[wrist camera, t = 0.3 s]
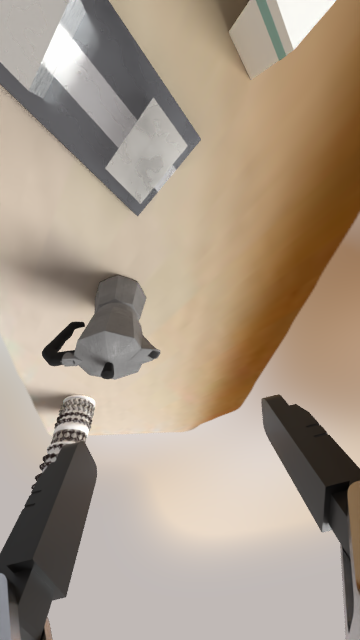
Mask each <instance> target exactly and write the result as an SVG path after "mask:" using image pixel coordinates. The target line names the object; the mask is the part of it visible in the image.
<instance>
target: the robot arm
mask: <svg viewBox="0 0 360 640" xmlns="http://www.w3.org/2000/svg"><path fill="white" fill-rule="evenodd" d="M262 414H263V425H264V429H265V432H266V434H267V436H268V438H269V440H270V442H271V444H272V446H273V447H274V449H275V451H276V453H277V454H278V456H279V458H280V459H281V461H282V463H283V465H284V467H285V468H286V470H287V472H288V474H289V476H290V477H291V479H292V481H293V483H294V484H295V486H296V487H297V490H298V491H299V493H300V495H301V497H302V498H303V500H304V502H305V504H306V505H307V507H308V509H309V510H310V512H311V514H312V516H313V517H314V519H315V521H316V523H317V524H318V526H319V528H320V530H321V532H325V531H330V530H333V532H334V533H335V535H336V537H337V538H338V540H339V542H340V543H341V546H340V548H341V564H342V581H343V598H344V614H345V633H346V640H360V468H359V467H358V466H357V465H356V464H355V463H354V462H353V461H352V460H351V458H350V457H349V456H348V455H347V454H346V453H345V452H344V451H343V450H342V449H341V447H340V446H339V445H338V444H337V443H336V442H335V441H334V440H333V438H331V436H330V435H328V434H327V432H326V431H325V430H324V428H323V427H321V425H319V423H318V422H317V421H316V420H315V419H314V418H313V416H311V414H310V413H309V412H308V411H306V410H304V409H303V408H301V407H300V406H298V405H297V404H295V405H290V406H289V405H288V404H287V403H286V401H285V400H284V399H283V398H282V396H280V395H274V396H270V397H266V398H263V399H262ZM96 477H97V468H96V464H95V462H94V460H93V458H92V456H91V454H90V452H89V450H88V448H87V446H86V444H85V442H83V441H80V442H76V443H72V444H68V445H64V446H63V447H62V448H61V450H60V452H59V454H58V456H57V458H56V460H55V462H51V463H50V464H49V465H48V467H47V468H46V469H45V470H44V472H43V473H42V474H41V475H40V476H39V478H38V480H37V482H36V484H35V486H34V488H33V490H32V492H31V493H32V494H31V495H30V496H29V498H28V500H27V502H26V504H25V508H24V509H23V510H22V512H21V514H20V516H19V518H18V520H17V522H16V524H15V526H14V528H13V530H12V532H11V534H10V536H9V538H8V540H7V541H6V544H5V546H4V547H3V549H2V551H1V553H0V640H52V634H51V628H50V623H49V619H48V617H47V615H48V612H49V609H50V605H51V602H52V600H56V599H60V598H64V597H66V595H67V591H68V587H69V583H70V579H71V575H72V572H73V568H74V564H75V560H76V556H77V552H78V548H79V545H80V541H81V537H82V533H83V529H84V525H85V521H86V517H87V514H88V509H89V506H90V502H91V498H92V494H93V490H94V486H95V483H96Z"/></svg>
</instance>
